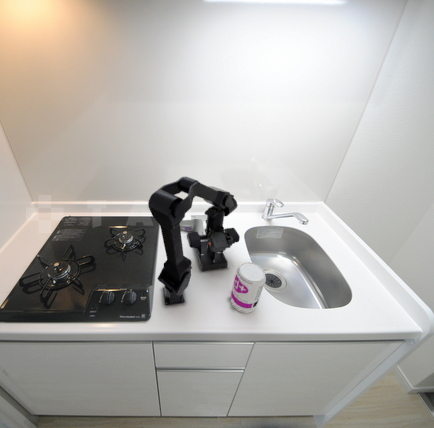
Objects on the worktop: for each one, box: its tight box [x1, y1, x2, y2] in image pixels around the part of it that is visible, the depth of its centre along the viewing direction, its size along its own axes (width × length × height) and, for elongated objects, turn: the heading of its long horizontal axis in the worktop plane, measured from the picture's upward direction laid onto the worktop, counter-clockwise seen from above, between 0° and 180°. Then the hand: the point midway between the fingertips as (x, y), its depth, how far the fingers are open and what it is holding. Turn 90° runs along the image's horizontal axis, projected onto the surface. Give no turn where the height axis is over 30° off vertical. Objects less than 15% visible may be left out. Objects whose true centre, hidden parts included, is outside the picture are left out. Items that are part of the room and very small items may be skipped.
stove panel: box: [193, 241, 229, 272], centre depth 85 cm, size 15×10×3 cm, turn 9°
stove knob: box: [207, 243, 215, 258], centre depth 81 cm, size 5×2×4 cm, turn 10°
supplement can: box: [229, 261, 267, 314], centre depth 64 cm, size 8×8×15 cm
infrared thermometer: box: [180, 218, 204, 236], centre depth 97 cm, size 5×12×15 cm
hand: (210, 253), depth 82 cm, fingers open, 8 cm apart
